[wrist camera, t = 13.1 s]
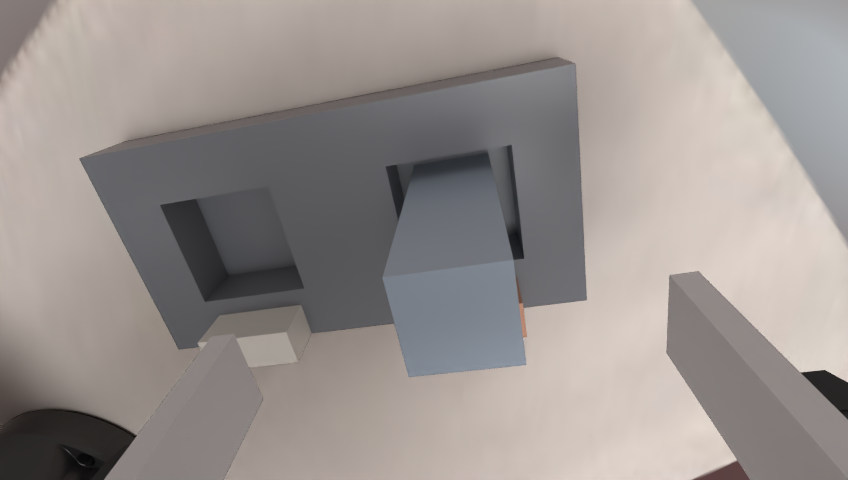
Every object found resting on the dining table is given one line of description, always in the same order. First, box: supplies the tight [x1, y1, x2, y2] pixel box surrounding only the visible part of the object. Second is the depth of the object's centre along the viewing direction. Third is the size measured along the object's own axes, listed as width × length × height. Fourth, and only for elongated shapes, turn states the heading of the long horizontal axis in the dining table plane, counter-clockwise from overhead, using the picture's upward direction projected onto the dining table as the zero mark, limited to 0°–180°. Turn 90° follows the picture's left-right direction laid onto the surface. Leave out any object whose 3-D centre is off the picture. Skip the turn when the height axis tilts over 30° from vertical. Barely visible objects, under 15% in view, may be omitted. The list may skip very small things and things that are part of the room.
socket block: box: [79, 57, 587, 368], centre depth 24 cm, size 24×12×6 cm, turn 101°
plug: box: [382, 153, 526, 377], centre depth 20 cm, size 4×4×12 cm
